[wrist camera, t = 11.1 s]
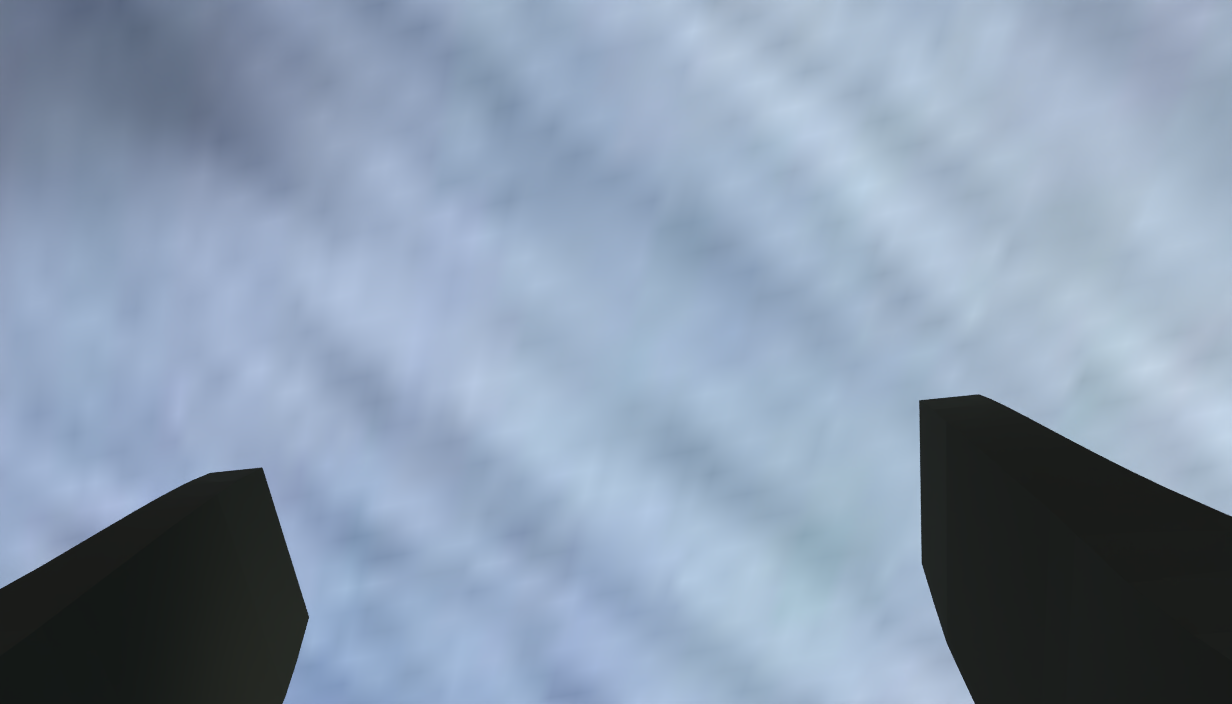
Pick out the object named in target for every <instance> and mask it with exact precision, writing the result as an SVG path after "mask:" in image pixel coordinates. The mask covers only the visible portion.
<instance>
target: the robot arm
mask: <svg viewBox="0 0 1232 704" xmlns="http://www.w3.org/2000/svg"><path fill="white" fill-rule="evenodd" d="M919 409H920V477H921V544H922V565H923V569H924V572H925V575H926V579H927V582H928V585H929V588H930V592H931V595H932V598H933V602H934V605H935V608H936V611H937V614H938V617H939V620H940V623H941V626H942V630H943V633H944V636H945V639H946V642H947V644H948V647H949V649H950V651H951V653H952V655H953V658H954V660H955V662H956V664H957V666H958V668H959V671H960V673H961V675H962V677H963V679H964V681H965V683H966V686H967V688H968V690H969V692H970V694H971V696H972V698H973V701H974V703H975V704H1232V516H1229V515H1227V514H1224V513H1222V512H1220V511H1217V510H1215V509H1213V508H1211V507H1208V506H1206V505H1204V504H1202V503H1199V502H1197V501H1195V500H1193V499H1190V498H1188V497H1186V496H1184V495H1181V494H1179V493H1177V492H1174V491H1172V490H1170V489H1168V488H1165V487H1163V486H1161V485H1159V484H1157V483H1155V482H1153V481H1151V480H1149V479H1146V478H1144V477H1142V476H1140V475H1138V474H1136V473H1134V472H1132V471H1130V470H1128V469H1126V468H1124V467H1122V466H1120V465H1118V464H1116V463H1114V462H1112V461H1110V460H1108V459H1106V458H1104V457H1102V456H1100V455H1098V454H1096V453H1094V452H1092V451H1090V450H1088V449H1086V448H1084V447H1082V446H1081V445H1079V444H1077V443H1075V442H1073V441H1071V440H1069V439H1067V438H1065V437H1063V436H1062V435H1060V434H1058V433H1056V432H1054V431H1052V430H1050V429H1048V428H1046V427H1045V426H1043V425H1041V424H1039V423H1037V422H1035V421H1033V420H1031V419H1030V418H1028V417H1026V416H1024V415H1022V414H1020V413H1018V412H1016V411H1014V410H1012V409H1010V408H1008V407H1006V406H1004V405H1002V404H1000V403H998V402H996V401H994V400H992V399H989V398H987V397H984V396H982V395H979V394H978V395H968V396H958V397H948V398H938V399H929V400H919ZM308 619H309V616H308V612H307V609H306V606H305V603H304V599H303V596H302V593H301V590H300V587H299V583H298V580H297V577H296V574H295V571H294V567H293V564H292V561H291V558H290V555H289V551H288V548H287V545H286V542H285V539H284V535H283V532H282V529H281V526H280V523H279V519H278V516H277V513H276V510H275V506H274V503H273V500H272V497H271V494H270V490H269V487H268V484H267V481H266V478H265V474H264V471H263V468H253V469H243V470H234V471H224V472H214V473H209V474H207V475H204V476H202V477H199V478H197V479H194V480H192V481H190V482H188V483H186V484H184V485H182V486H180V487H178V488H176V489H174V490H172V491H170V492H168V493H166V494H165V495H163V496H161V497H159V498H157V499H155V500H154V501H152V502H150V503H148V504H147V505H145V506H143V507H141V508H140V509H138V510H136V511H134V512H133V513H131V514H129V515H127V516H126V517H124V518H122V519H121V520H119V521H117V522H115V523H114V524H112V525H110V526H109V527H107V528H105V529H104V530H102V531H100V532H98V533H97V534H95V535H93V536H92V537H90V538H88V539H87V540H85V541H83V542H81V543H80V544H78V545H76V546H75V547H73V548H71V549H70V550H68V551H66V552H65V553H63V554H61V555H59V556H58V557H56V558H54V559H53V560H51V561H49V562H48V563H46V564H44V565H42V566H41V567H39V568H37V569H35V570H34V571H32V572H30V573H28V574H26V575H25V576H23V577H21V578H19V579H17V580H16V581H14V582H12V583H10V584H8V585H7V586H5V587H3V588H1V589H0V704H282V703H283V701H284V699H285V696H286V693H287V690H288V687H289V684H290V681H291V678H292V674H293V671H294V668H295V665H296V662H297V659H298V655H299V651H300V648H301V644H302V641H303V637H304V633H305V630H306V626H307V623H308Z"/></svg>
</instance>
